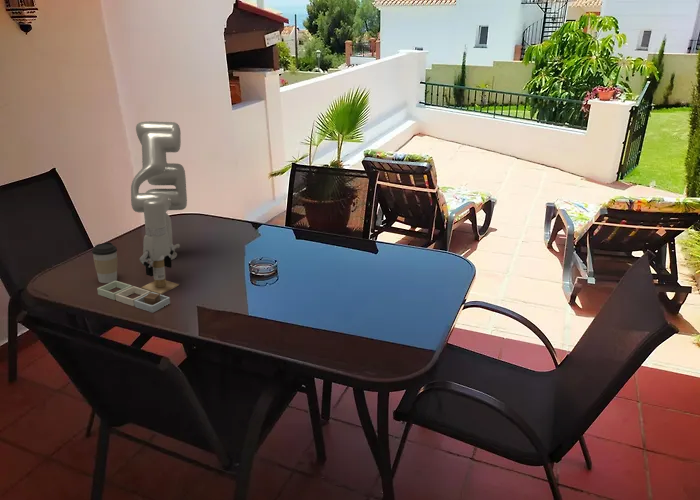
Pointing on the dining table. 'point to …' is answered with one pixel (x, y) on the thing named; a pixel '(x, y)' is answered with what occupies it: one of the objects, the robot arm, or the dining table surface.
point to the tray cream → (123, 295)
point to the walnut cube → (152, 298)
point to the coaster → (159, 290)
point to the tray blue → (152, 308)
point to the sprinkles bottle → (159, 272)
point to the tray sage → (105, 289)
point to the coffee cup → (105, 262)
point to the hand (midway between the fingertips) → (159, 271)
